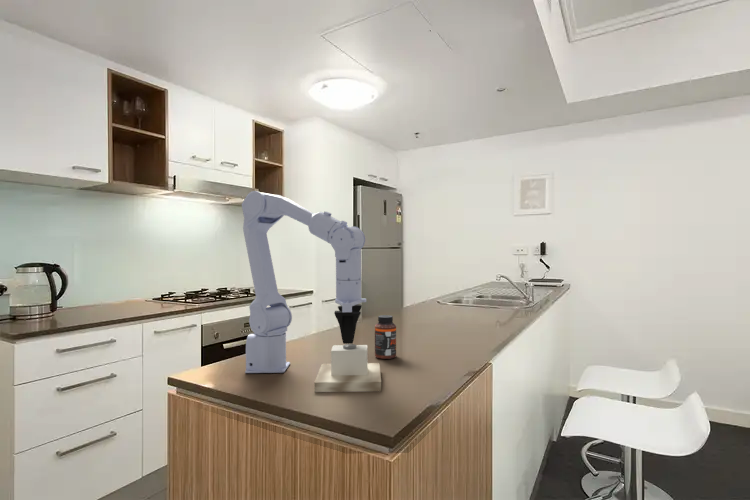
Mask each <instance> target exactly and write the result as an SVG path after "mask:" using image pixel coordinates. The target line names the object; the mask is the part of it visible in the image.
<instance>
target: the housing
mask: <svg viewBox="0 0 750 500" xmlns="http://www.w3.org/2000/svg"><path fill="white" fill-rule="evenodd" d="M368 355H369V354H368V344H355V343H353V344H342V345H341V344H340V345H339V344H337V345H336V344H334V345H332V347H331V350H330V364H331V376H342V375H368V363H369V362H368V358H369V357H368Z"/></svg>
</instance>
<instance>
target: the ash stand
mask: <svg viewBox="0 0 750 500" xmlns="http://www.w3.org/2000/svg"><path fill="white" fill-rule="evenodd" d="M320 365H321V366H320V367H319V370H318V372H317V375H316V378H315V379H314V384H313V385H314V386H313V387H314V388H313V389H314V393H341V392H342V393H344V392H346V393H348V392H350V393H351V392H355V393H357V392H382V378H381V377H382V376H381V375H382V374H381V366H380V363H379V362H368V375H342V376H331V363H321V364H320Z"/></svg>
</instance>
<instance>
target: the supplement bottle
mask: <svg viewBox="0 0 750 500" xmlns="http://www.w3.org/2000/svg"><path fill="white" fill-rule="evenodd" d="M393 319H394V318H393V315H391V314H390V315H389V314H388V315H387V314H381V315H378V316H377V321H378V322H377V323H376V324H375V325H374V357H375V358H376V359H380V360H391V359H392V360H393V359H394V358H396V357H397V325H396V324H395V323H394V322H393V321H394V320H393Z"/></svg>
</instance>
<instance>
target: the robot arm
mask: <svg viewBox="0 0 750 500" xmlns="http://www.w3.org/2000/svg"><path fill="white" fill-rule="evenodd" d="M241 209H242V214H243V226H242V230H243V236H244V241H245V242H244V243H245V245H246V250H247V257H248V262H249V268H250V272H251V278H252V284H253V289H254V294H255V298H254V300H252V302H251V303H250V305H249V307H248V308H249V318H248V322H249V323H248V324H249V327H250V329H251V331H252V332H253V333H249V334H248V335H247V337H246V341H245V342H246V343H245V370H244V371H245V372H244V373H245V374H272V373H273V374H275V373H277V374H279V373H280V374H283V373H285V372H286V370H287V369H288V368H289V366H290V365H291V362H290V361H287V332H288V327H289V326H291V323H292V321H293V315H292V311H291V309H290V308H289V306H288V304H287V299H286V298H285V297H284V296H283V295H281V294H280V293H279V290H278V286H277V280H276V276H275V269H274V264H273V259H272V254H271V250H270V245H269V240H268V239H269V238H268V235H267V233H268V231H270V229H271V228H272V227H273V226H274V225H275V224H277V223H278V222H279V221H280V220H281V219H282V218H283V217H284V216H286V217H289V218H291V219H293V220H295V221H297V222H299V223H302V224H303V225H306V226H308V227H307V228H308V231H309V232H310V234H312V235H313V236H315V237H317V238H319V239H321V240H323V241H324V242H325V243H328V244H330V246H331V247H332V249H333V250H334V257H335V299H334V303H335V304H337V305H338V306H337V309H338V310H334V313H333V314H334V316H335V318H336V320H337V322H338V325H339V330H340V335H341V340H342V343H343V344H342V345H345V344H354V340H355V334H356V328H357V323H358V319H359V318H360V315H361V313H362V312H361V309H362V306H363V305H362V303H367V298H362V249H363V247H364V246H365V243H366V236H365V234H364V232H363V230H362V229H360V228H359V227H358V226H355V225H354V226H348V222H347V221H345V220H341V221H340V220H339V219H337V218H335V217H333V216H332V213H331V212H329V211H318V212H316V213H314V212H312V211H311V210H309V209H308V208H306V207H304V206H303V205H300V204H299V203H297V202H295V201H294V200H292V199H291V198H288V197H285V196H283V195H281V194H272V193H266V192H260V191H259V190H252V191H250V192H248V194H247V195H246V196H245V197H244V200H243V201H242V203H241Z"/></svg>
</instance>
